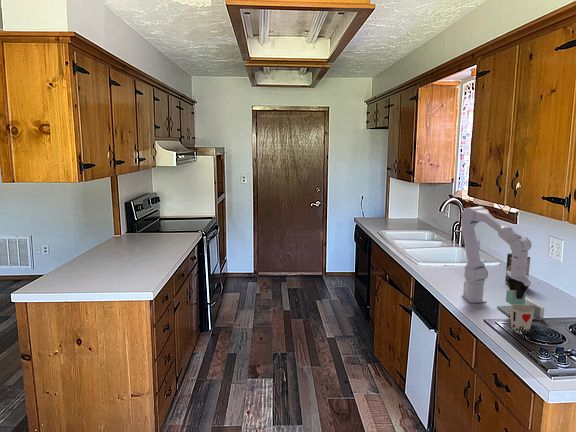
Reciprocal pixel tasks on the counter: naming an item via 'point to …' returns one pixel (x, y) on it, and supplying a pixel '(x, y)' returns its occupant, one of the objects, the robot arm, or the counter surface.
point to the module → (514, 298)
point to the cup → (521, 317)
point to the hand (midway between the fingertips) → (516, 296)
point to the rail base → (537, 308)
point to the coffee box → (509, 262)
